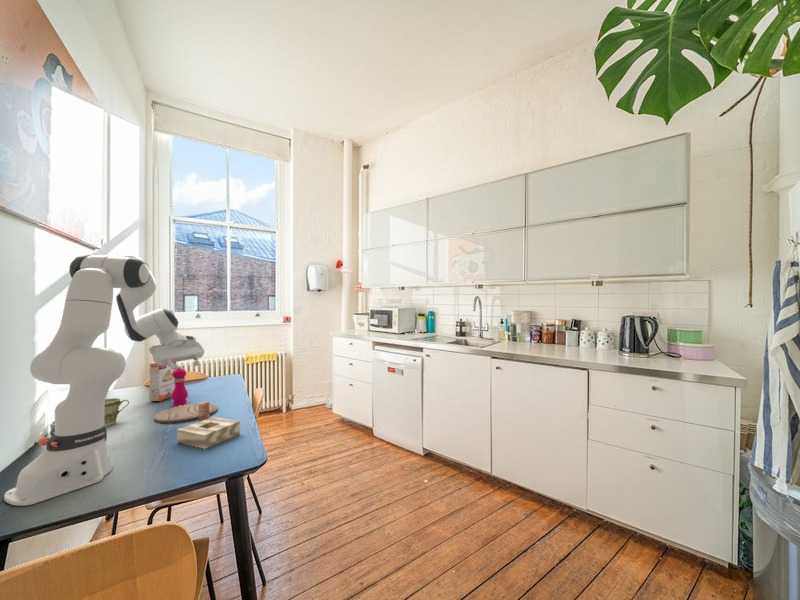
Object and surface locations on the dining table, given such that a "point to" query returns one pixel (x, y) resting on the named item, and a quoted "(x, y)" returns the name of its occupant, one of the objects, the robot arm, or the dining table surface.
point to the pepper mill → (179, 387)
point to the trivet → (182, 413)
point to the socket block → (208, 432)
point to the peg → (203, 410)
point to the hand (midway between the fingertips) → (186, 366)
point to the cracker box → (160, 381)
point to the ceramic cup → (112, 410)
